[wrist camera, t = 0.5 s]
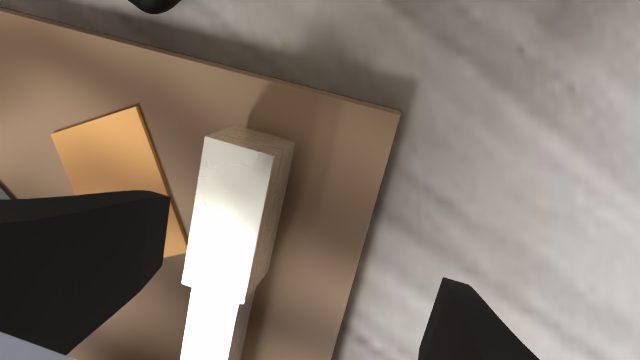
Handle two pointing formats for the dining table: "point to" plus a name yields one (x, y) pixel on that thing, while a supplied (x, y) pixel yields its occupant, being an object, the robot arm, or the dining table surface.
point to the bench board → (191, 173)
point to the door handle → (154, 5)
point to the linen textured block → (232, 236)
